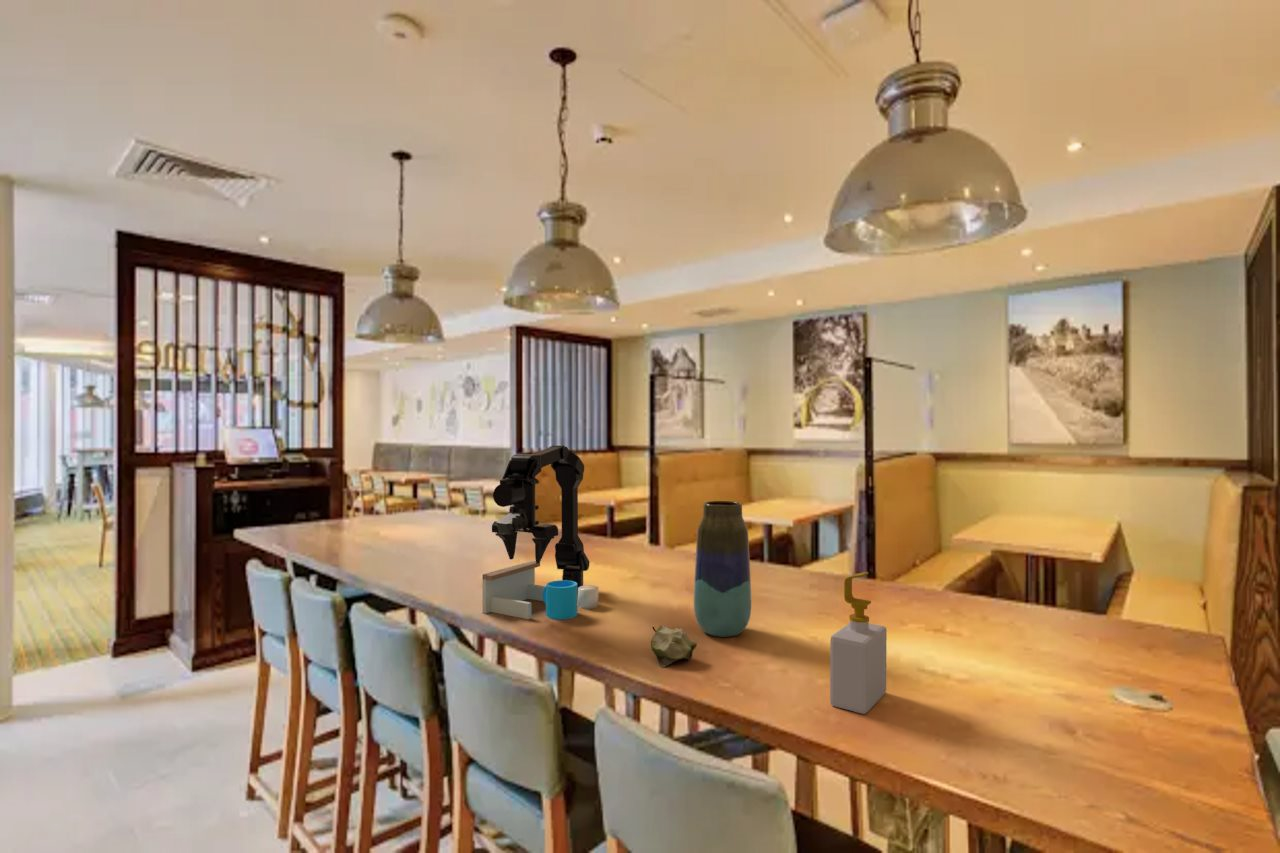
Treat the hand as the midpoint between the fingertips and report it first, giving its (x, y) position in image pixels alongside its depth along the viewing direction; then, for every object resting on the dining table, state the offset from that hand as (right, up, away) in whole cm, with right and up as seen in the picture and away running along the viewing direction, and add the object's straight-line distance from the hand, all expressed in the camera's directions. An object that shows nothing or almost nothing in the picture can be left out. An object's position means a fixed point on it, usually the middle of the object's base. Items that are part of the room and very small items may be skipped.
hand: (524, 561), depth 173 cm
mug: (+8, -14, +1) cm, 17 cm away
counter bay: (0, -14, +6) cm, 15 cm away
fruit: (+37, -15, -33) cm, 52 cm away
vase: (+50, -14, -15) cm, 54 cm away
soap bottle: (+71, -15, -53) cm, 90 cm away
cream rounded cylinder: (+16, -14, +8) cm, 23 cm away
